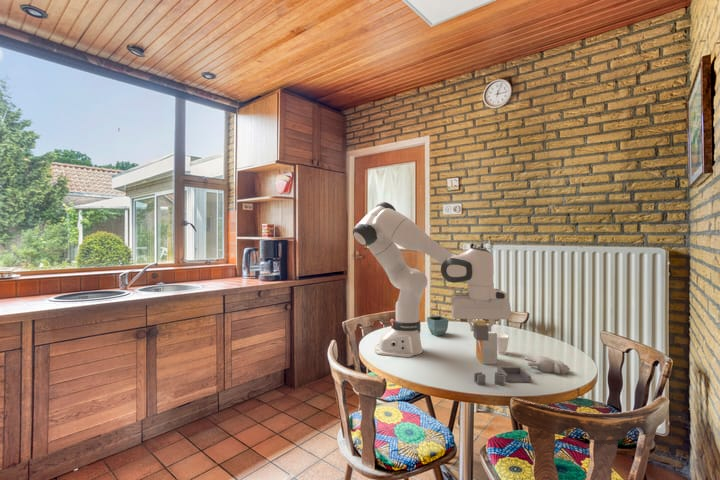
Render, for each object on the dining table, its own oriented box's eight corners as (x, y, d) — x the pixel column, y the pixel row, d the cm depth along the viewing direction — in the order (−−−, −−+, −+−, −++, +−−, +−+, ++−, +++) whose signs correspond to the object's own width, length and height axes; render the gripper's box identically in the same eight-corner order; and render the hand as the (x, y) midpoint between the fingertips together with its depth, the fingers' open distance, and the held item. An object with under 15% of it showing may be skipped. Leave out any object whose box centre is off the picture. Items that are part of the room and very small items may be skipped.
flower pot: (426, 333, 190) (426, 317, 190) (440, 331, 192) (440, 315, 192) (434, 337, 181) (434, 320, 181) (449, 336, 184) (449, 319, 184)
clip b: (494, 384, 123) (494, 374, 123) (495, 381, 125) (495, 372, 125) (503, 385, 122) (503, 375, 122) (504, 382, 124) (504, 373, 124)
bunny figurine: (572, 367, 129) (529, 358, 133) (571, 380, 129) (527, 371, 133) (564, 358, 138) (524, 351, 142) (563, 371, 138) (523, 363, 142)
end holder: (505, 382, 125) (505, 375, 125) (497, 372, 134) (497, 366, 134) (530, 382, 124) (530, 376, 124) (521, 373, 133) (521, 366, 133)
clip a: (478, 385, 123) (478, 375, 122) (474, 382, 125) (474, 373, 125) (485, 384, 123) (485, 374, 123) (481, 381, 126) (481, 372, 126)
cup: (509, 356, 152) (509, 338, 152) (485, 353, 156) (485, 335, 156) (509, 351, 158) (509, 334, 158) (486, 349, 162) (486, 332, 162)
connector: (476, 340, 121) (476, 323, 121) (473, 336, 126) (473, 320, 126) (488, 340, 120) (488, 323, 120) (484, 336, 125) (484, 320, 125)
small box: (475, 357, 151) (475, 328, 151) (490, 357, 151) (490, 328, 151) (482, 364, 143) (482, 333, 143) (497, 364, 143) (497, 333, 143)
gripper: (452, 293, 121) (452, 333, 121) (512, 294, 119) (512, 334, 119) (449, 291, 127) (449, 328, 127) (506, 291, 125) (506, 329, 125)
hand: (480, 331), depth 123 cm, fingers closed on connector, 4 cm apart
